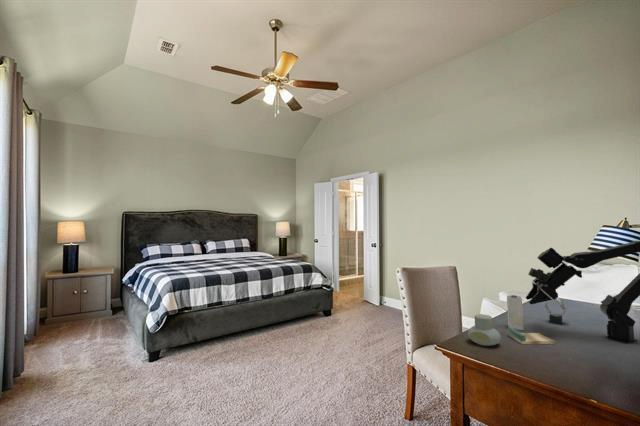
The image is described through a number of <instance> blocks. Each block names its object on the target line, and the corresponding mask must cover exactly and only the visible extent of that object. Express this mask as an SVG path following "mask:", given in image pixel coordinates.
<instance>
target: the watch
mask: <svg viewBox="0 0 640 426" xmlns="http://www.w3.org/2000/svg"><path fill="white" fill-rule="evenodd" d="M551 299H552V298H551ZM552 300H553V299H552ZM555 300H556V302H557V305H558V306H559V307H560V308H561V309H562V310H563V313H561V314H557V313H553V312H552V311H551V310H550V308H549V306H548V304H547V301H544V308H545V310H546V312H547V313H548V314H549V316H548V317H549V324H553V325H560V326H562V325H563V322H564V321H563V320H564V319H563V316H564V315H565V313H566V312H567V310H568V308H567V306H566V304H565V303H564V301H563V300H562V299H561V298H559V297H557V298H556V299H555Z"/></svg>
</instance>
